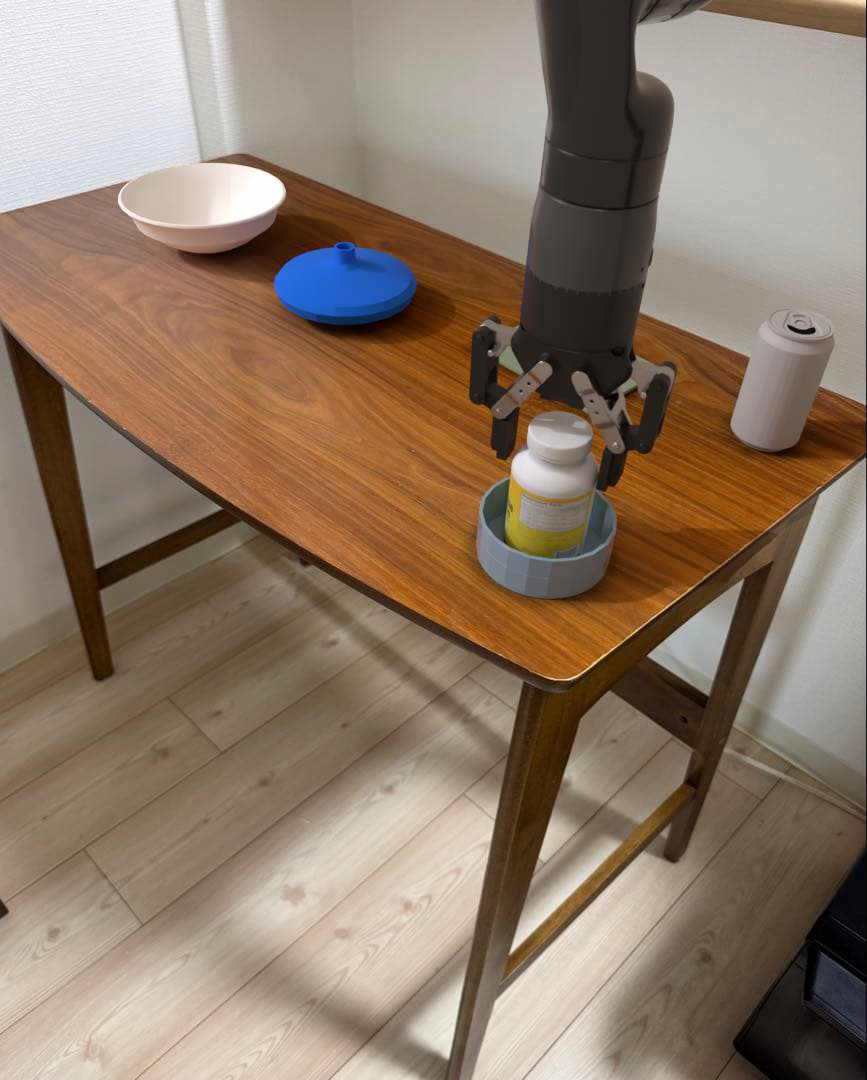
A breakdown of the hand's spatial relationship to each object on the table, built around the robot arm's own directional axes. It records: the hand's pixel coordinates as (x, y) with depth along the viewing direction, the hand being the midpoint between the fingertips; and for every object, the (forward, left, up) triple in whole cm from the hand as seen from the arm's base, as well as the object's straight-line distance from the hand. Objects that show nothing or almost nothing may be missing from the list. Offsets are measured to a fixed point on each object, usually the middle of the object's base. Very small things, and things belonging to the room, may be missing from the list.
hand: (554, 469), depth 67 cm
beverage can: (-13, -25, -9) cm, 29 cm away
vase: (+34, -28, -9) cm, 45 cm away
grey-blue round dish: (0, 0, -8) cm, 8 cm away
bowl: (+57, -34, -9) cm, 67 cm away
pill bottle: (0, 0, -8) cm, 8 cm away
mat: (+8, -29, -8) cm, 31 cm away
